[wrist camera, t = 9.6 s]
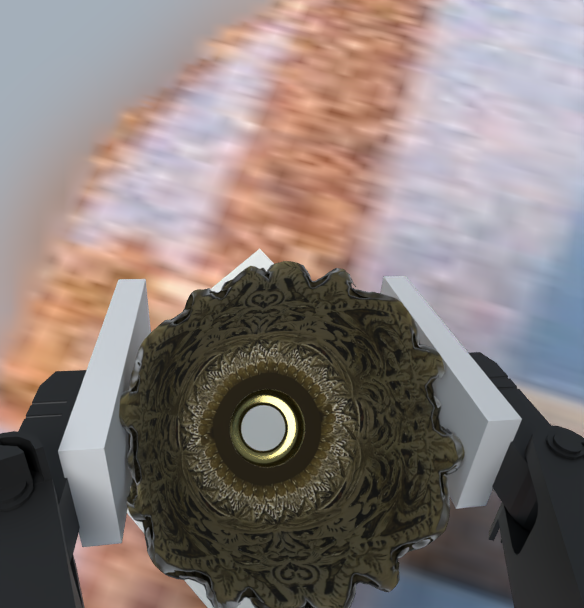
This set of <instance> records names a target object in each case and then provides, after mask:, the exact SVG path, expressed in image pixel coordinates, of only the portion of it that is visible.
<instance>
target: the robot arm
mask: <svg viewBox="0 0 584 608" xmlns="http://www.w3.org/2000/svg"><path fill="white" fill-rule="evenodd" d="M380 294H384V295H388V296H391V297H394V298H396V299H398V300H399V301H401V302H402V303H403V305H404V306H405V307H406V309H407V310H408V311H409V313H410V314H411V316H412V318H413V319H414V321H415V323H416V325H417V328H418V338H419V341H420V344H424V345H427V346H429V347H432V348H434V349H435V350H436V351H437V352H438V353H439V354H440V355H441V357H442V360H443V365H444V369H445V374H444V375H443V376H442V377H441V379H440V377H438V378H437V379H436V380H435V381H434V383H433V389H434V392H435V396H436V398H437V399H438V400H439V401H440V403H441V410H440V414H439V419H440V425H441V426H443V427H444V428H445V429H447V428H448V429H449V430H450V431H452V432H453V433H454V435H456V436H457V437H459V439H460V440H461V442H462V444H463V447H464V452H465V454H464V458H463V461H462V463H461V465H460V467H459V468H458V470H457V471H456V472H454V473H452V474H450V475H448V476H447V477H448V488H449V496H450V498H451V500H452V502H453V504H454V506H455V508H456V509H458V508H467V507H477V506H486V504H487V502H488V499H489V497H490V495H491V492H492V490H493V488H494V490H495V492H496V493H497V495H498V496H499V498H500V499H501V501H502V503H501V506H500V508H499V510H498V513H497V515H496V517H495V519H494V522H493V524H492V526H491V528H490V531H489V540H493V541H494V539H495V537H496V534H497V532H498V530H499V528H500V533H501V538H502V539H501V543H503V549H504V554H505V560H506V565H507V570H508V576H509V581H510V587H511V592H512V597H513V603H514V608H584V438H583V437H582V436H580V435H578V434H576V433H575V432H573V431H571V430H568V429H565V428H562V427H559V426H551V425H550V424H549V423H548V421H547V420H546V419H545V418H544V417H543V416H542V415H541V413H540V412H539V411H538V410H537V409H536V408H535V407H534V405H533V404H532V403H531V402H530V401H529V400H528V399H527V397H526V396H525V395H524V394H523V393H522V392H521V391H520V389H517V386H516V385H515V384H514V383H513V381H512V380H511V379H508V376H507V375H506V373H505V372H504V371H503V370H502V369H501V368H500V367H499V365H498V364H497V363H495V362H494V361H492V360H491V359H489V358H488V357H486V356H485V355H483V354H482V353H480V352H476V353H468V352H467V351H466V350H465V348H464V347H463V346H462V345H461V344H460V342H459V341H458V340H457V339H456V337H455V336H454V335H453V334H452V332H451V331H450V330H449V329H448V328H447V326H446V325H445V324H444V323H443V321H442V320H441V319H440V318H439V317H438V315H437V314H436V313H435V312H434V310H433V309H432V308H431V307H430V305H429V304H428V303H427V302H426V301H425V299H424V298H423V297H422V296H421V294H420V293H419V292H418V291H417V290H416V288H415V287H414V286H413V285H412V283H411V282H410V281H409V280H408V278H407V277H406V276H383V282H382V287H381V293H380ZM150 333H151V329H150V319H149V309H148V299H147V289H146V279H119V280H118V283H117V286H116V289H115V291H114V294H113V297H112V300H111V303H110V306H109V308H108V311H107V314H106V317H105V320H104V323H103V325H102V328H101V331H100V334H99V337H98V339H97V342H96V345H95V348H94V351H93V354H92V356H91V359H90V362H89V365H88V368H87V370H80V371H57V372H55V373H54V374H52V375H51V376H50V377H49V378H48V379H47V380H46V381H45V382H44V383H43V384H41V385H40V387H39V389H38V391H37V393H36V395H35V397H34V399H33V402H32V405H31V406H30V408H29V410H28V412H27V414H26V419H24V421H23V423H22V425H21V427H20V429H19V431H18V432H15V431H13V432H7V433H1V434H0V608H84V603H83V598H82V593H81V588H80V583H79V578H78V573H77V568H76V563H75V560H74V556H73V552H74V548H75V544H76V540H77V536H78V532H79V535H80V539H81V543H82V547H89V546H99V545H108V544H118V543H122V539H123V533H124V527H125V521H126V515H127V509H128V507H127V503H126V502H127V497H128V495H129V493H130V486H131V483H132V476H131V471H130V470H129V468H128V465H127V459H126V458H127V455H128V448H129V445H128V433H127V432H126V431H125V429H124V428H122V426H121V423H120V419H119V408H120V398H121V395H122V394H123V393H124V392H125V391H127V390H129V384H130V378H131V373H132V371H133V369H134V364H135V360H136V356H137V353H138V350H139V348H140V346H141V344H142V342H143V341H144V339H145V338H146V337H147V336H148V335H149V334H150ZM441 429H442V428H441ZM443 431H444V430H443ZM446 433H447V432H446ZM447 434H449V433H447ZM449 435H451V434H449Z"/></svg>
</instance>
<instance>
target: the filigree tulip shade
mask: <svg viewBox="0 0 584 608" xmlns="http://www.w3.org/2000/svg"><path fill="white" fill-rule="evenodd" d="M351 283H353V281H352V279H351V277H350V274H348V273H347V272H346V271H345V270H344V269H339V268H335V269H333V270H332V271H330V272H328V273H327V274H326V275H325V276H323V277H322V278H320V279H317V280H316V281H312V280H311V278H310V275H309V273H308V271H307V270H306V269H305V267H304V266H303V265H301V264H299V263H296V262H291V261H283V262H280V263H276V264H273V265H271V266H270V267H269V269H268V270H267V271H266V270H265V269H264V268H261V269H259V268H257V267H255V266H249V267H247V268H246V269H244V270H243V271H242V272H240V273H239V274H238V275H237V276H236V277H235V278H234V279H232V280H230V281H227V282H225V283H224V285H223V286H222V289H221V291H220V292H215V291H211V290H210V288H209V289H204V290H200V289H199V290H195V291H193V292H192V293H191V294H190V296H189V298H188V300H187V302H186V306H185V309H184V310H183V312H182V313H180V314H179V315H177V316H176V317H175V318H173V319H171V320H165V321H164V322H163V323H161V324H160V325H159V326H158V327H157V328H156V329H154V330H153V331H152V332H151V333H150V334H149V335H148V336H147V337H146V338H145V339H144V341H143V342H142V344H141V346H140V348H139V350H138V353H137V356H136V360H135V364H134V369H133V371H132V373H131V378H130V384H129V390H127V391H125V392H124V393H123V394H122V395H121V398H120V408H119V419H120V423H121V426H122V428H124V429H125V431H126V432H127V433H128V445H129V448H128V455H127V458H126V459H127V465H128V468H129V470H130V471H131V476H132V483H131V486H130V493H129V495H128V497H127V502H126V503H127V507H128V510H129V513H130V515H131V516H132V518H133V519H134V520H136V521H139V522H142V523H143V528H144V534H145V540H146V545H147V551H148V554H149V556H150V558H151V560H152V562H153V563H154V565H155V566H156V567H157V568H158V569H159V570H160V571H161V572H163V573H164V574H165V575H167V576H169V577H173V578H176V579H182V580H186V579H189V580H193V581H195V582H198V583H200V584H202V585H203V586H204V587H205V590H206V597H207V598H208V599H209V601H210V602H211V604H212V606H213V607H214V608H237V607H238V605H240V604H241V603H240V602H241V601H243V599H244V598H249V599H250V601H251V603H252V605H253V606H254V607H255V608H350V606H351V604H352V602H353V599H354V596H355V591H356V584H357V583H359V582H361V583H363V584H369V585H371V586H373V587H375V588H377V589H379V590H382V591H384V592H390V591H391V590H393V589H394V588H395V587H396V585H397V584H398V581H399V580H400V579H399V562H398V558H401V557H402V556H404V555H405V553H407V552H409V551H412V550H416V549H420V548H423V547H425V546H427V545H428V544H430V543H431V542H433V541H434V540H435V539H437V538H438V537H439V536H440V535H441V534H442V533H443V532H444V531H445V530H446V527H447V524H448V520H449V512H450V499H449V488H448V477H447V476H448V475H450V474H452V473H454V472H456V471H457V470H458V468H459V467H460V465H461V463H462V461H463V458H464V454H465V452H464V447H463V444H462V442H461V440H460V439H459V437H457V436H456V435H454V433H453V432H452V431H450V430H449V429H448V428H447V429H445V428H444V427H443V426H441V425H440V419H439V414H440V410H441V403H440V401H439V400H438V399H437V398H436V396H435V392H434V389H433V383H434V381H435V380H436V379H437V378H438V377H440V379H441V377H442V376H443V375H444V374H445V369H444V365H443V360H442V357H441V355H440V354H439V353H438V352H437V351H436V350H435V349H434V348H432V347H429V346H427V345H424V344H420V341H419V338H418V328H417V325H416V323H415V321H414V319H413V318H412V316H411V314H410V313H409V311H408V310H407V309H406V307H405V306H404V305H403V303H402V302H401V301H399V300H398V299H396V298H394V297H391V296H388V295H384V294H380V293H376V292H366V291H361V290H356V289H354V288H353V289H352V286H351ZM353 285H354V283H353ZM354 286H355V285H354ZM355 287H356V286H355ZM263 405H264V406H270V407H273V408H274V409H276V410H277V411H278V412H279V413H280V414H281V415H282V417H283V419H284V422H285V433H284V436H283V439H282V440H281V442H280V443H279V444H278V445H277V446H276V447H274V448H273V449H270V450H266V451H259V450H256V449H253V448H252V447H250V446H249V445H248V444H247V443H246V442H245V440H244V438H243V436H242V431H241V426H242V421H243V419H244V417H245V415H246V414H247V413H248V412H249V411H250V410H251V409H253V408H255V407H257V406H263ZM441 428H442V429H441ZM443 430H444V431H443ZM446 432H447V433H449V434H451V435H449V434H447V433H446Z"/></svg>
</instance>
